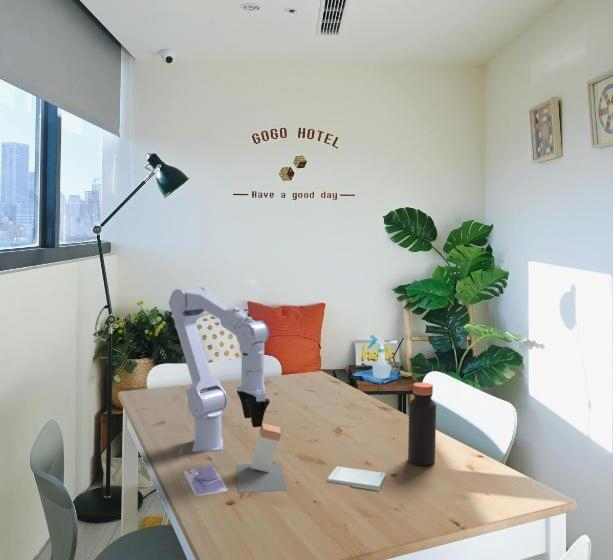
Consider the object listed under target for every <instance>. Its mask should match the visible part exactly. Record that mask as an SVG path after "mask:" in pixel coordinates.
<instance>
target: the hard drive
mask: <svg viewBox="0 0 613 560" xmlns="http://www.w3.org/2000/svg"><path fill="white" fill-rule="evenodd" d="M386 478H387V473H385V472H378V471H372V470H367V469H365V470H364V469H358V468H351V467H345V466H337V465H336V467H334V469H333V470H332V472H331V473H330V474H329V476H328V477H327V479H326V482H328V483H333V484H334V483H335V484H341V485H348V486H349V487H353V488H359V489H364V490H365V489H366V490H372V491H377V492H380V490H381V489H382V487H383V484H384V482H385V481H386Z"/></svg>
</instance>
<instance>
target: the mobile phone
mask: <svg viewBox="0 0 613 560" xmlns="http://www.w3.org/2000/svg"><path fill="white" fill-rule="evenodd" d="M183 473H184V476H185V477H186V479H187V482H188V484H189V486H190V487H191V489H192V491H193V493H194V495H195V496H205V495H211V494H218V493H223V492H226V491H228V487H227V486H226V484H225V483H224V481H223V480H222V478H221V476H220V475H219V473H218V472H217V470H216V469H215V467H213V466H204V467H198V468H191V469H186V470H184V471H183Z"/></svg>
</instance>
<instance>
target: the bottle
mask: <svg viewBox="0 0 613 560" xmlns="http://www.w3.org/2000/svg"><path fill="white" fill-rule="evenodd" d="M433 387H434V385H433V384H432V383H428V382H415V383H413V384H412V392H413V394H412V395H413V399H412V400H411V401H410V402H409V403H408V440H407V441H408V444H407V445H408V446H407V448H408V449H407V451H408V452H407V454H408V455H407V456H408V457H407V459H408V461H409V462H410V463H411V465H416V466H420V467H428V466H432V465H433V464H435V462H436V434H437V433H436V432H437V429H436V428H437V427H436V425H437V423H436V422H437V420H436V419H437V404H436V403H435V402H434V400H433V399H432V397H433V391H434V390H433Z"/></svg>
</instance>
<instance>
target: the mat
mask: <svg viewBox="0 0 613 560" xmlns="http://www.w3.org/2000/svg"><path fill="white" fill-rule="evenodd" d="M236 479H237V481H236V482H237V493H238V494H244V493H245V494H246V493H265V492H280V491H282V492H283V491H285V492H286V491H288V488H287V484H286V480H285V476H284V472H283V467H282V465H281V462H272V465H271V469H270V472H265V471H261V470H257V469H252V468H251V463H248V464H236Z"/></svg>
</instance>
